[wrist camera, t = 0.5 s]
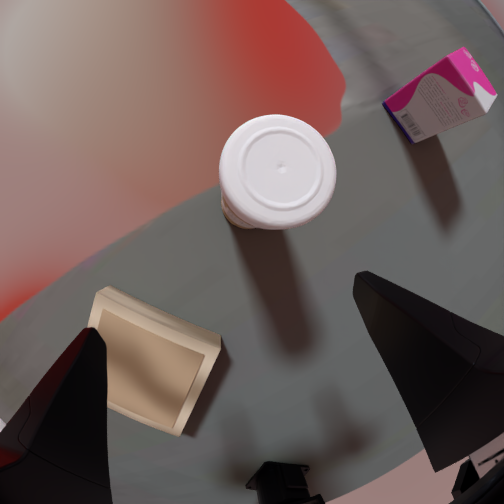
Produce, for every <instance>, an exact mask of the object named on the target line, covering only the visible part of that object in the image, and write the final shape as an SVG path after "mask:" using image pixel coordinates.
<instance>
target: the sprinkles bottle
mask: <svg viewBox="0 0 504 504" xmlns="http://www.w3.org/2000/svg"><path fill="white" fill-rule="evenodd" d="M219 181H220V188H221V191H222V199H221V207H222V210H223V213H224V215H225V217H226V218H227V219H228V220H229V221H230V222H231V223H232V224H233V225H236V226H237V227H240V228H243V229H253V228H262V229H269V230H281V229H289V228H295V227H298V226H301V225H304V224H306V223H308V222H310V221H311V220H313V219H314V218H316V217H317V216H318V215H319V214H320V213H321V212H322V211H323V210H324V209H325V208H326V206H327V205H328V203H329V201H330V199H331V197H332V195H333V192H334V189H335V185H336V165H335V160H334V157H333V154H332V152H331V150H330V147H329V146H328V144H327V142H326V141H325V140H324V138H323V137H322V136H321V135H320V134H319V133H318V132H317V131H316V130H315V129H314V128H312V127H311V126H310V125H308V124H307V123H305V122H303V121H301V120H299V119H296V118H293V117H290V116H285V115H265V116H261V117H257V118H254V119H252V120H250V121H248V122H246V123H244V124H243V125H241V126H240V127H239V128H237V130H235V131H234V132H233V134H232V135H231V136H230V137H229V139H228V141H227V142H226V144H225V146H224V149H223V151H222V154H221V158H220V164H219Z"/></svg>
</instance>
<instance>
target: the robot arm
mask: <svg viewBox="0 0 504 504" xmlns="http://www.w3.org/2000/svg"><path fill="white" fill-rule="evenodd" d="M353 297H354V300H355V302H356V304H357V307H358V309H359V311H360V314H361V316H362V318H363V321H364V323H365V326H366V328H367V330H368V333H369V335H370V337H371V339H372V340H373V342H374V344H375V346H376V348H377V350H378V352H379V353H380V355H381V357H382V359H383V361H384V363H385V365H386V367H387V369H388V371H389V373H390V375H391V377H392V379H393V381H394V383H395V385H396V387H397V389H398V391H399V393H400V395H401V397H402V399H403V401H404V403H405V405H406V407H407V409H408V411H409V414H410V416H411V418H412V420H413V422H414V424H415V427H416V428H417V431H418V434H419V436H420V438H421V441H422V443H423V445H424V447H425V450H426V452H427V455H428V457H429V459H430V462H431V464H432V467H433V469H434V471H435V472H438V471H440V470H442V469H444V468H446V467H448V466H450V465H452V464H454V463H456V462H457V461H459V460H461V459H463V458H465V457H466V456H469V459H468V460H466V461H465V462H464V463H463V464H462V465H461V466H460V469H459V472H458V475H457V479H456V481H455V485H454V487H453V489H452V492H451V493H452V495H453V498H454V500H453V501H452V502H450V503H449V504H504V336H502V335H500V334H498V333H495V332H493V331H491V330H488V329H486V328H483V327H481V326H479V325H477V324H474V323H472V322H470V321H468V320H466V319H464V318H462V317H460V316H458V315H456V314H454V313H452V312H450V311H448V310H446V309H444V308H442V307H440V306H438V305H437V304H435V303H433V302H431V301H429V300H427V299H425V298H423V297H421V296H419V295H417V294H415V293H413V292H411V291H408V290H406V289H404V288H402V287H400V286H398V285H396V284H394V283H392V282H390V281H388V280H386V279H384V278H382V277H380V276H377V275H375V274H373V273H371V272H369V271H362V272H359V273H357V274H356V275H355V279H354V286H353ZM107 396H108V375H107V346H106V343H105V341H104V340H103V338H102V337H101V335H100V334H99V332H98V331H97V329H96V328H94V327H88V328H84V329H83V330H82V331H81V332H80V333H79V334H78V336H77V337H76V338H75V339H74V340H73V341H72V342H71V344H70V345H69V346H68V347H67V348H66V350H65V351H64V352H63V353H62V354H61V355H60V357H59V358H58V359H57V360H56V362H55V363H54V364H53V365H52V366H51V368H50V369H49V370H48V371H47V373H46V374H45V375H44V376H43V378H42V379H41V380H40V382H39V383H38V384H37V385H36V387H35V388H34V389H33V391H32V392H31V393H30V396H28V397H27V399H26V400H25V401H24V403H23V404H22V405H21V407H20V408H19V409H18V411H17V412H16V413H15V415H14V416H13V417H12V418H11V420H10V421H9V422H8V423H7V424H6V426H5V427H4V428H3V429H2V431H1V432H0V504H113V502H112V495H111V489H110V478H109V466H108V448H107ZM309 470H310V468H309V466H304V465H293V464H284V463H277V462H270V461H267V462H265V463H264V464H263V465H262V466H261V467H260V469H259V470H258V471H257V472H256V473H255V475H254V476H253V477H252V478H251V479H250V481H249V482H248V483H247V484H246V489H250V490H257V495H258V501H259V504H325V502H324V500H323V498H322V496H321V494H317V495H316V496H313V497H310V494H309V492H308V489H307V488H308V485H307V482H306V480H305V477H304V475H305V474H306V473H307V472H308V471H309Z"/></svg>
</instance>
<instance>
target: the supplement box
mask: <svg viewBox="0 0 504 504" xmlns="http://www.w3.org/2000/svg"><path fill="white" fill-rule="evenodd" d="M496 97H497V93H496V92H495V90H494V88H493V87H492V85H491V84H490V82H489V80H488V79H487V77H486V76H485V74H484V73H483V71H482V70H481V68H480V67H479V66H478V64H477V63H476V61H475V60H474V59H473V57H472V56H471V55H470V53H469V52H468V51H467V50H466V48H465V47H462V48H460V49H459V50H457V51H455V52H453V53H451V54H449V55H447V56H445V57H444V58H442V59H441V60H440V61H438V62H437V63H435V64H434V65H433V66H431V67H430V68H428V69H427V70H426V71H424V72H423V73H421V74H420V75H419V76H417V77H416V78H414V79H413V80H412V81H410V82H409V83H408V84H406V85H405V86H404V87H402V88H401V89H399V90H398V91H397V92H395V93H394V94H393V95H391V96H390V97H389V98H387V99H386V100H385V101H383V103H382V104H383V106H384V107H385V108H386V109H387V111H388V112H389V113H390V115H391V116H392V117H393V119H394V120H395V121H396V122H397V124H398V125H399V127H400V128H401V129H402V131H403V132H404V134H405V135H406V136H407V138H408V139H409V141H410V142H411V144H415V143H417V142H420V141H422V140H424V139H427V138H429V137H432V136H434V135H436V134H438V133H441V132H443V131H446V130H448V129H450V128H453V127H455V126H458V125H460V124H463V123H465V122H468V121H470V120H473V119H475V118H478V117H480V116H483V115H485V114H486V113H487V112H488V110H489V108H490V107H491V105H492V103H493V102H494V100H495V98H496Z"/></svg>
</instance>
